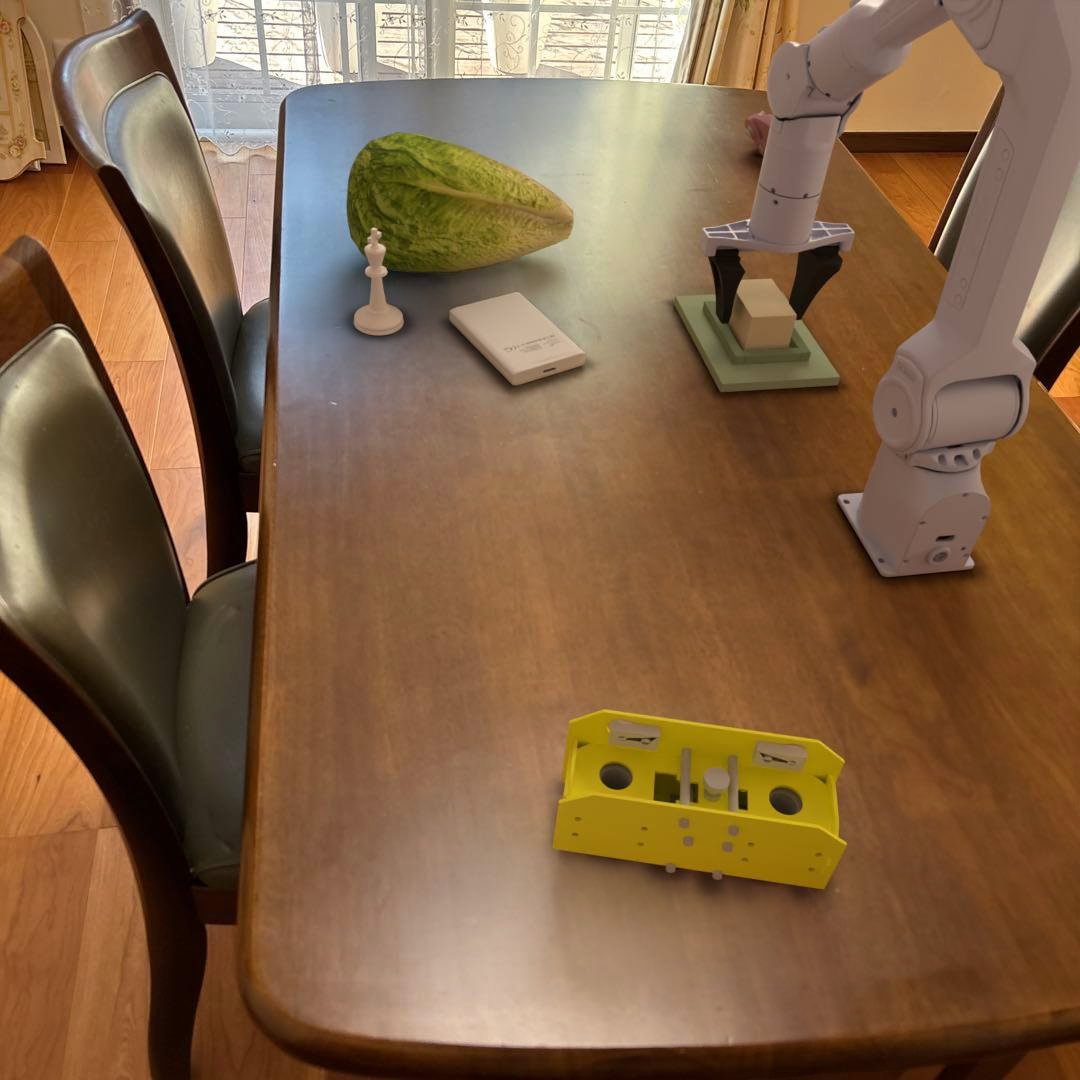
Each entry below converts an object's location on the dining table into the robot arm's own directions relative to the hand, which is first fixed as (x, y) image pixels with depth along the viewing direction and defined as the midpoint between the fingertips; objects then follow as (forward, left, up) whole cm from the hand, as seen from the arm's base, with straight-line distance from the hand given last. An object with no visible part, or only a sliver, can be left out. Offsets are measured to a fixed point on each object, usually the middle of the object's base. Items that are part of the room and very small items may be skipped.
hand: (758, 316), depth 101 cm
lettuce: (+19, +27, -3) cm, 33 cm away
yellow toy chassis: (-53, +23, -3) cm, 58 cm away
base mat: (0, 0, -3) cm, 3 cm away
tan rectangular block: (0, 0, -2) cm, 2 cm away
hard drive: (+2, +24, -3) cm, 24 cm away
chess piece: (+7, +37, -3) cm, 38 cm away
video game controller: (+43, -18, -3) cm, 47 cm away
